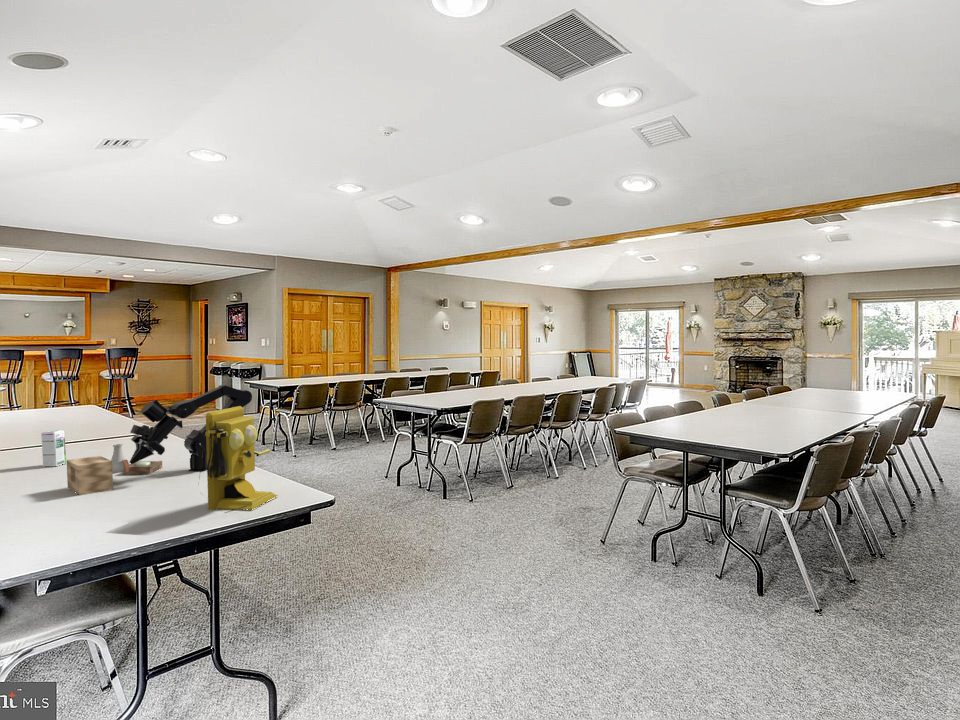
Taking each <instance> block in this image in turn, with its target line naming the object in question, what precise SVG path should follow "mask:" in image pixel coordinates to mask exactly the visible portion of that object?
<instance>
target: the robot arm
mask: <svg viewBox="0 0 960 720" xmlns="http://www.w3.org/2000/svg"><path fill="white" fill-rule="evenodd" d="M224 396H225V397H227V398H229V399H228V400H227V403H226V404H225V406H223V407H222V408H221V409H220V410H223V409H228V408H233V407H237V406H241V407H242V408H245V406H247V405H249V404H250V403H251V402H252V400H253V394H252V392H251V391H249V390H246V389H237V388H234V387H231V386H229V385H227V384H220V385H218V386H217V387H214V388H213V389H211V390H208V391H206V392H203V393H202V394H200V395H197V396H196V397H194V398H191V399H186V400H182V401H178V402H175V403H173V404H172V405H171V406H167V407H166V406H163V405H162V404H161V403H160V402H159V401H158V400H157V399H153V400H151V402H148V403H147V404H146V405H144V406H143V407H142V408H141V409H140V414H142V415H143V416H144V417H145V418H146V419H148V420H149V421H150V422H152V423H155V422H156V424H155V425H154V427H153V426H149V425H145V424H143V425H140V426H139V425H136V424H133V425H132V428H131V429H130V432H129V433H130V434H134V435H133V437H131V439H130V441H131V442H133V443H134V444H135V450H134V452H133V454H132V457H131V458H130V460H129V461H128V463H129V464H134V463H136V462H138V461H142V460H144V459H146V458H149V457H151V456H153V455H155V453H154V452H156V453H157V455H160V456H162V455H163V454H164V453H165V451H166V449H165V447H164V446H163V445H162V444H161V443H162V442H163V441H164V440H168V438H169V437H168V436H169V435H170V433H171V432H172V431H173V430H175V428H176V427H177V428H180V429H182V428H183V427H184V426H183V420H178V418H179V419H186V418H188V417H189V416H191V415H192V414H194V413H195V412H196V411H197V410H198V409H199V408H201V407H204V406H205V405H208V404H209V403H212V402H214V401H216V400H218V399H220V398H223V397H224ZM168 414H169V415H168ZM170 415H171V416H170ZM205 433H206V424H205V425H203V427H202V428H200V429H193V430H192V431H191V432H190V433H189V434H188V435H186V436H185V440H184V441H183V443H184V444H183V445H184V448H185V449H186V450H187V451H188V453H189V454H190V458H189V469H188V471H189V472H190V471H192V472H193V471H194V472H195V471H196V472H200V469H201V472H204V470H205V471H207V470H206V469H207V445H206V439H205ZM204 439H205V446H204ZM203 447H204V452H203ZM202 454H203V459H202ZM201 461H202V465H201Z"/></svg>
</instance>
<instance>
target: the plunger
mask: <svg viewBox="0 0 960 720" xmlns="http://www.w3.org/2000/svg"><path fill="white" fill-rule="evenodd" d="M129 464H130V463H129V460H128V459H126V460H122V461H120V462H114V463H112V474H115V475H116V474H120V473H128V472H129Z"/></svg>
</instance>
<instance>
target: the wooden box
mask: <svg viewBox="0 0 960 720" xmlns="http://www.w3.org/2000/svg"><path fill="white" fill-rule="evenodd" d="M66 475H67V476H66V478H67V480H66V481H67V482H66V483H67V489H68V488H69V489H68V490H70V489H71V490H72V492H73V491H74V492H73V493H75V492H76V493H77V495H78V494H79V495H78V496H81V495H82V494H84V495H88V494H87V493H89V494H94V493H93V492H95V493H100V492H105V491H104V490H106V491H110V489H111V490H114V484H113V483H114V480H113V474H112V461H111V459H108V458H106V457H104V456H101V455H95V456H93V455H92V456H87V457H82V458H81V457H80V458H74V459H66ZM71 490H70V491H71ZM99 491H100V492H99ZM76 493H75V494H76ZM82 496H83V495H82Z"/></svg>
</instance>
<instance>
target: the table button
mask: <svg viewBox="0 0 960 720" xmlns="http://www.w3.org/2000/svg"><path fill="white" fill-rule="evenodd" d="M149 464H150V462H138V463H136V466H141V465H149Z"/></svg>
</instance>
